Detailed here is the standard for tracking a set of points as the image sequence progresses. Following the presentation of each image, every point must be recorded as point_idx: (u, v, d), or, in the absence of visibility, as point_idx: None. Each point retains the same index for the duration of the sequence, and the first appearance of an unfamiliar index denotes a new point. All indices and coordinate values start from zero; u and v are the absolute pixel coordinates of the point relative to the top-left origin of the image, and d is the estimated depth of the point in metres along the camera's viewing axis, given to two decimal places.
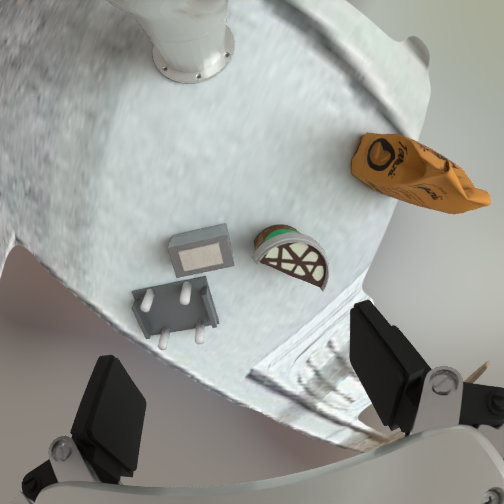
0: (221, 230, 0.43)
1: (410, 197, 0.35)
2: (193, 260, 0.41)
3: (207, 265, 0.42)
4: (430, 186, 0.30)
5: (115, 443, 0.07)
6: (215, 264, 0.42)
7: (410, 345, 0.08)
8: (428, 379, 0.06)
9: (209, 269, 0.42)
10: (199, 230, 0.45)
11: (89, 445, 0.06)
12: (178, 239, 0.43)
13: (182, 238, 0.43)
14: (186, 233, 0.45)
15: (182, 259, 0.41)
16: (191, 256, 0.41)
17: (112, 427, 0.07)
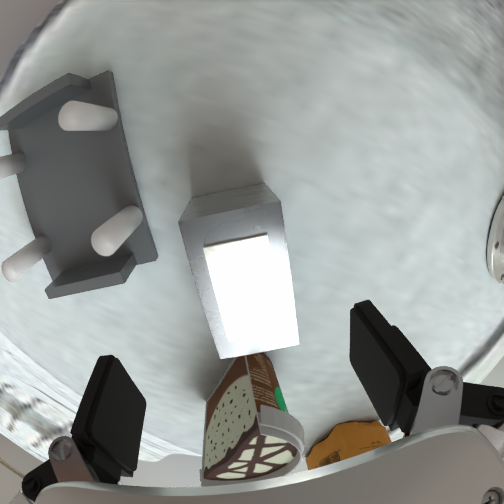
0: None
1: None
2: (238, 275, 0.14)
3: (220, 307, 0.15)
4: None
5: (115, 443, 0.07)
6: (225, 325, 0.16)
7: (410, 345, 0.08)
8: (428, 379, 0.06)
9: (208, 311, 0.15)
10: None
11: (89, 445, 0.06)
12: None
13: None
14: None
15: (242, 245, 0.14)
16: (251, 270, 0.14)
17: (112, 427, 0.07)
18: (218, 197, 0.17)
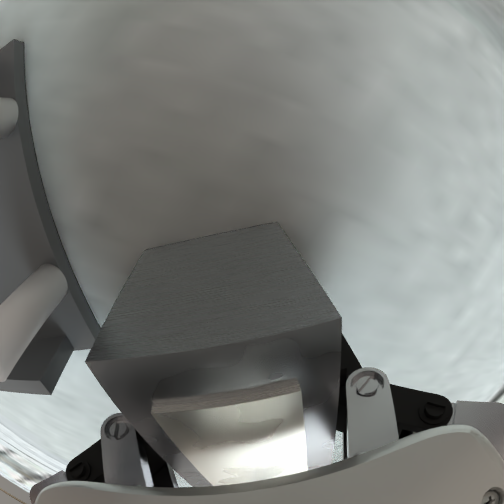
0: None
1: None
2: (233, 445, 0.06)
3: (202, 469, 0.07)
4: None
5: None
6: None
7: (346, 344, 0.09)
8: (351, 379, 0.07)
9: (183, 471, 0.07)
10: None
11: None
12: None
13: None
14: None
15: (241, 410, 0.05)
16: (259, 439, 0.06)
17: None
18: (187, 262, 0.08)
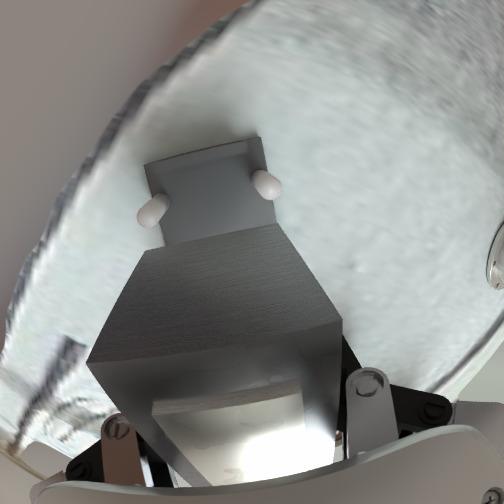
0: None
1: None
2: (234, 446, 0.06)
3: (203, 469, 0.07)
4: None
5: None
6: (213, 484, 0.07)
7: (346, 344, 0.09)
8: (351, 379, 0.07)
9: (184, 472, 0.07)
10: None
11: None
12: None
13: None
14: None
15: (241, 412, 0.05)
16: (260, 440, 0.06)
17: None
18: (187, 263, 0.08)
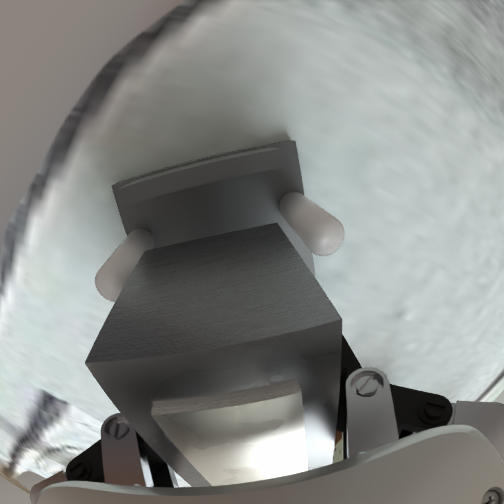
0: None
1: None
2: (233, 446, 0.06)
3: (202, 469, 0.07)
4: None
5: None
6: (213, 484, 0.07)
7: (346, 344, 0.09)
8: (351, 379, 0.07)
9: (183, 472, 0.07)
10: None
11: None
12: None
13: None
14: None
15: (241, 412, 0.05)
16: (259, 440, 0.06)
17: None
18: (187, 263, 0.08)
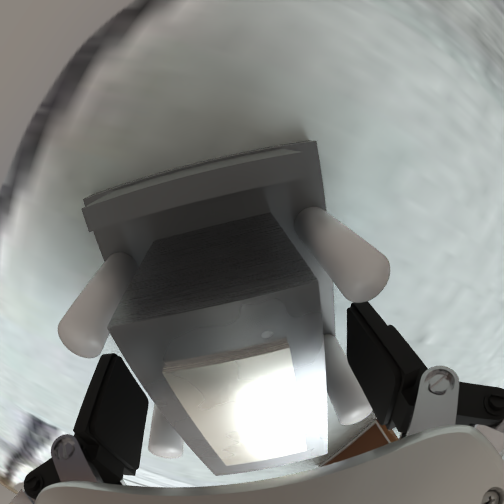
0: None
1: None
2: (234, 406, 0.07)
3: (208, 436, 0.08)
4: None
5: (118, 441, 0.07)
6: (218, 453, 0.08)
7: (407, 345, 0.08)
8: (424, 378, 0.06)
9: (190, 439, 0.08)
10: None
11: (92, 443, 0.06)
12: None
13: None
14: None
15: (239, 367, 0.06)
16: (257, 399, 0.07)
17: (115, 425, 0.07)
18: (192, 248, 0.10)
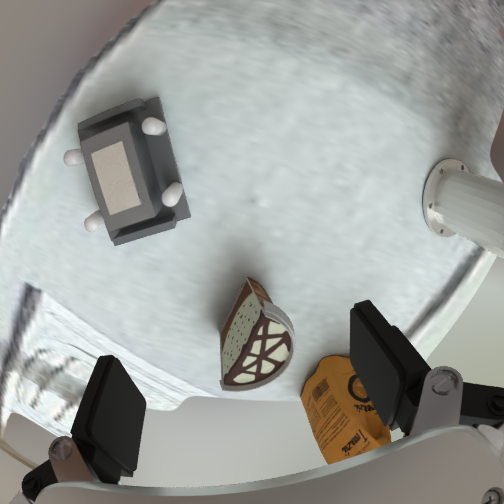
0: (157, 202, 0.26)
1: (333, 428, 0.34)
2: (109, 167, 0.22)
3: (103, 190, 0.23)
4: (361, 445, 0.30)
5: (115, 443, 0.07)
6: (106, 203, 0.23)
7: (410, 345, 0.08)
8: (428, 379, 0.06)
9: (97, 194, 0.23)
10: (151, 166, 0.27)
11: (89, 445, 0.06)
12: (138, 136, 0.24)
13: (140, 142, 0.24)
14: (146, 146, 0.26)
15: (109, 148, 0.21)
16: (115, 163, 0.22)
17: (112, 427, 0.07)
18: None
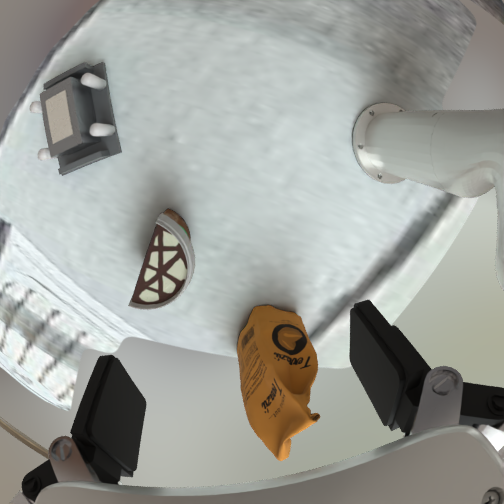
0: (89, 136, 0.29)
1: (254, 379, 0.36)
2: (55, 108, 0.24)
3: (50, 126, 0.25)
4: (279, 400, 0.32)
5: (115, 443, 0.07)
6: (51, 135, 0.25)
7: (410, 345, 0.08)
8: (428, 379, 0.06)
9: (46, 129, 0.25)
10: (91, 112, 0.29)
11: (89, 445, 0.06)
12: (81, 89, 0.26)
13: (82, 93, 0.26)
14: (89, 97, 0.29)
15: (57, 96, 0.23)
16: (59, 105, 0.24)
17: (112, 427, 0.07)
18: None
